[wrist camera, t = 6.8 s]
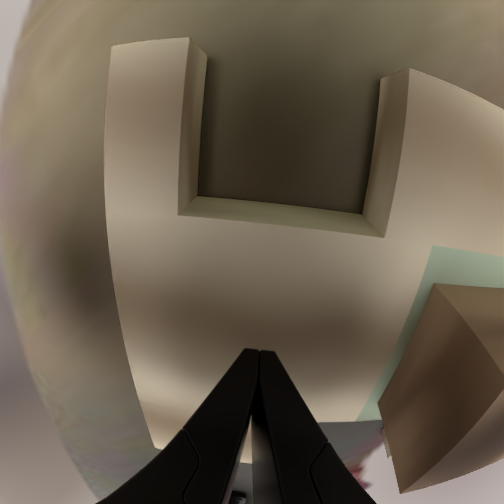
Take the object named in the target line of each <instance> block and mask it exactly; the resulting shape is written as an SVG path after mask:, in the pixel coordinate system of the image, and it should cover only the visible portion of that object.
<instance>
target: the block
mask: <svg viewBox="0 0 504 504" xmlns="http://www.w3.org/2000/svg"><path fill="white" fill-rule="evenodd" d="M377 404H378V408H379V411H380V415H381V418H382V422H383V426H384V429H385V433H386V437H387V441H388V445H389V449H390V453H391V457H392V461H393V465H394V469H395V474H396V478H397V482H398V487H399V491H400V494H402V493H406V492H410V491H414V490H418V489H422V488H426V487H429V486H432V485H436V484H439V483H442V482H445V481H448V480H451V479H454V478H457V477H459V476H463V475H465V474H468V473H470V472H473V471H475V470H478V469H480V468H483V467H485V466H487V465H489V464H492V463H494V462H496V461H498V460H500V459H502V458H504V288H492V287H478V286H464V285H451V284H438V283H434V284H433V287H432V289H431V292H430V295H429V297H428V300H427V302H426V305H425V307H424V310H423V312H422V315H421V317H420V320H419V322H418V324H417V326H416V329H415V331H414V333H413V335H412V338H411V340H410V342H409V344H408V346H407V348H406V350H405V352H404V354H403V357H402V359H401V361H400V362H399V364H398V366H397V368H396V370H395V372H394V374H393V376H392V378H391V380H390V381H389V383H388V385H387V387H386V389H385V390H384V392H383V394H382V396H381V397H380V399H379V401H378V402H377Z"/></svg>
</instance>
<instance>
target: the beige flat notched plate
mask: <svg viewBox="0 0 504 504" xmlns="http://www.w3.org/2000/svg"><path fill="white" fill-rule="evenodd" d="M207 57H208V56H207V55H206V54H205V53H204V52H203V51H202V50H201V49H200V48H199V46H198V45H197V44H196V43H195V42H194V41H193V40H192V39H191V38H190V37H183V38H169V39H158V40H149V41H141V42H133V43H127V44H121V45H115V46H112V49H111V56H110V63H109V72H108V81H107V92H106V105H105V124H104V191H105V210H106V224H107V236H108V246H109V255H110V263H111V271H112V278H113V285H114V291H115V298H116V303H117V309H118V315H119V320H120V325H121V330H122V335H123V339H124V344H125V348H126V353H127V357H128V361H129V365H130V369H131V373H132V377H133V380H134V384H135V388H136V391H137V394H138V398H139V401H140V405H141V408H142V411H143V414H144V417H145V420H146V423H147V426H148V429H149V432H150V435H151V438H152V441H153V443H154V446H155V448H159V449H164V448H165V447H166V445H167V444H168V443H169V442H170V441H171V440H172V439H173V438H174V436H175V435H176V434H177V433H178V432H179V430H180V429H182V427H183V426H184V425H185V423H186V422H187V421H188V420H189V418H190V417H191V416H192V415H193V414H194V412H195V411H196V410H197V409H198V407H199V406H200V405H201V404H202V402H203V401H204V400H205V398H206V397H207V396H208V395H209V393H210V392H211V391H212V390H213V388H214V387H215V386H216V384H217V383H218V382H219V381H220V379H221V378H222V377H223V375H224V374H225V373H226V371H227V370H228V369H229V368H230V366H231V365H232V364H233V362H234V361H235V360H236V358H237V357H238V356H239V354H240V353H241V352H242V350H243V349H244V348H253V349H258V350H259V352H260V350H272V351H275V352H276V354H277V356H278V357H279V359H280V361H281V363H282V364H283V366H284V368H285V369H286V371H287V373H288V375H289V376H290V378H291V380H292V381H293V383H294V385H295V386H296V388H297V390H298V391H299V393H300V395H301V396H302V398H303V400H304V401H305V403H306V405H307V406H308V408H309V410H310V411H311V413H312V415H313V416H314V418H315V420H316V421H317V423H319V422H352V421H369V420H382V418H381V415H380V411H379V408H378V404H377V402H378V401H379V399H380V397H381V396H382V394H383V392H384V390H385V389H386V387H387V385H388V383H389V381H390V380H391V378H392V376H393V374H394V372H395V370H396V368H397V366H398V364H399V362H400V361H401V359H402V357H403V354H404V352H405V350H406V348H407V346H408V344H409V342H410V340H411V338H412V335H413V333H414V331H415V329H416V326H417V324H418V322H419V320H420V317H421V315H422V312H423V310H424V307H425V305H426V302H427V300H428V297H429V295H430V292H431V289H432V287H433V284H434V283H438V284H451V285H464V286H478V287H492V288H504V110H503V109H501V108H499V107H497V106H496V105H494V104H492V103H490V102H488V101H486V100H484V99H482V98H480V97H478V96H476V95H474V94H472V93H470V92H468V91H466V90H464V89H462V88H460V87H457V86H455V85H453V84H451V83H448V82H446V81H443V80H441V79H439V78H436V77H433V76H431V75H428V74H426V73H423V72H420V71H417V70H415V69H412V68H407V69H405V70H402V71H399V72H397V73H394V74H392V75H389V76H386V77H384V78H381V82H380V94H379V105H378V115H377V124H376V132H375V140H374V147H373V154H372V161H371V168H370V174H369V180H368V186H367V191H366V197H365V202H364V208H363V213H362V215H360V214H354V213H347V212H340V211H332V210H325V209H317V208H309V207H301V206H293V205H284V204H275V203H266V202H256V201H246V200H236V199H225V198H213V197H200V196H197V188H198V167H199V150H200V135H201V121H202V108H203V97H204V86H205V76H206V66H207ZM381 433H382V437H383V441H384V445H385V449H386V453H387V457H388V459H391V458H392V457H391V453H390V449H389V445H388V441H387V437H386V433H385V429H384V428H383V429H382V430H381ZM240 462H242V463H252V445H251V420H250V425H249V429H248V433H247V437H246V441H245V445H244V448H243V452H242V456H241V460H240Z"/></svg>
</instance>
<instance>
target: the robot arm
mask: <svg viewBox="0 0 504 504" xmlns="http://www.w3.org/2000/svg"><path fill="white" fill-rule="evenodd" d="M250 420H251V445H252V471H253V495H254V504H376V503H375V501H374V500H373V499H372V498H371V497H370V496H369V494H367V492H366V491H365V490H364V489H363V488H362V487H361V485H360V484H359V483H358V482H357V481H356V479H355V478H354V477H353V476H352V474H351V473H350V472H349V471H348V469H347V468H346V467H345V465H344V464H343V462H342V461H341V459H340V458H339V456H338V455H337V453H336V452H335V450H334V449H333V447H332V445H331V444H330V443H329V442H328V439H327V438H326V436H325V434H324V433H323V431H322V429H321V428H320V426H319V425H318V423H317V421H316V420H315V418H314V416H313V415H312V413H311V411H310V410H309V408H308V406H307V405H306V403H305V401H304V400H303V398H302V396H301V395H300V393H299V391H298V390H297V388H296V386H295V385H294V383H293V381H292V380H291V378H290V376H289V375H288V373H287V371H286V369H285V368H284V366H283V364H282V363H281V361H280V359H279V357H278V356H277V354H276V352H275V351H272V350H260V352H259V350H258V349H253V348H244V349H243V350H242V352H241V353H240V354H239V356H238V357H237V358H236V360H235V361H234V362H233V364H232V365H231V366H230V368H229V369H228V370H227V371H226V373H225V374H224V375H223V377H222V378H221V379H220V381H219V382H218V383H217V384H216V386H215V387H214V388H213V390H212V391H211V392H210V393H209V395H208V396H207V397H206V398H205V400H204V401H203V402H202V404H201V405H200V406H199V407H198V409H197V410H196V411H195V412H194V414H193V415H192V416H191V417H190V418H189V420H188V421H187V422H186V423H185V425H184V426H183V427H182V429H180V430H179V432H178V433H177V434H176V435H175V436H174V438H173V439H172V440H171V441H170V442H169V443H168V444H167V445H166V447H165V448H164V449H163V450H162V451H161V452H160V453H159V454H158V455H157V456H156V457H155V458H154V459H153V460H151V461H150V462H149V463H148V464H147V465H146V466H145V467H144V468H142V469H141V470H140V471H139V472H138V473H136V474H135V475H134V476H133V477H132V478H130V479H129V480H128V481H127V482H125V483H124V484H123V485H122V486H120V487H119V488H118V489H117V490H115V491H114V492H113V493H111V494H110V495H109V496H107V497H106V498H104V499H103V500H101V501H99V502H97V503H96V504H245V502H246V497H247V496H246V495H245V494H240V493H231V492H232V488H233V485H234V481H235V478H236V474H237V471H238V467H239V463H240V460H241V456H242V452H243V448H244V445H245V441H246V437H247V433H248V429H249V425H250ZM327 442H328V443H327Z"/></svg>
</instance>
